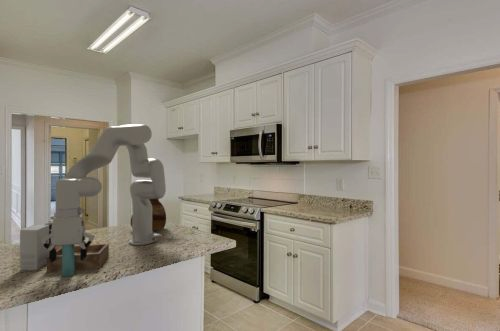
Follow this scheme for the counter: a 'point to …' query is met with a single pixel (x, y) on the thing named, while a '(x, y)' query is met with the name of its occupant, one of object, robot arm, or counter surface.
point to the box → (92, 260)
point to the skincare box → (33, 247)
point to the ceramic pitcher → (157, 215)
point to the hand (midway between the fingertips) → (68, 260)
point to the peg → (68, 260)
